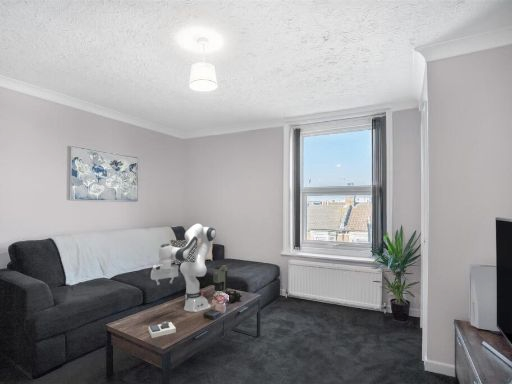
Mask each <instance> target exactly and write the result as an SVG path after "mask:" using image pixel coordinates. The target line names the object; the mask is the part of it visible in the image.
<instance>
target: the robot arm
mask: <svg viewBox="0 0 512 384" xmlns="http://www.w3.org/2000/svg"><path fill="white" fill-rule="evenodd" d="M216 236H217V230H216V229H215V228H214V227H210V226H203V225H202V224H201V223H195V224H194V225H192V226H190V227H189V228H188V230H186V231H185V233H184V239H185V241H186V242H187V243H186V245H185V246H184V247H183V246H182V247H176V246H173V245H171V244H170V243H163V244H161V245H160V247H159V250H158V258H159V260H158V263H156V264H154V265H152V269H151V271H150V279H151V280H152V281H154V280H155V282H156V285H157V286H160V282H159V280H163V279H169V278H171V279H170V280H169V284H173V280H174V279H175V278H177V277H179V271H180V273H182V275H183V277H184V281H185V285H186V286H185V287H186V288H185V289H186V290H185V302H184V308H183V310H184V311H185V312H191V313H192V312H193V313H198V312H201V311H204V310H207V309H208V310H209V309H211V308H212V307H211V304H210V303H209V301H208V298H206V297H205V296H204V292H203V291H201V290H200V281H199V279H197V277H199V278H201V277H205V275H206V274H207V270H208V269H207V266H206V259H207V256H208V254H209V252H210V249H211V247H212V243H213V242H212V241H213V240H214V239H215V237H216ZM198 239H200V241H199V243H198ZM197 243H198V245H197V247H196V249H195V251H194V253H193V257H194V259H195V260H194V261H193V262H192V261H186V260H187V259H188V258H189V255H190V253H191V252H192V250H193V249H194V247H195V246H196V244H197ZM172 260H174V261H179V262H181V264H180V267H179V265H177V264H172Z"/></svg>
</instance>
